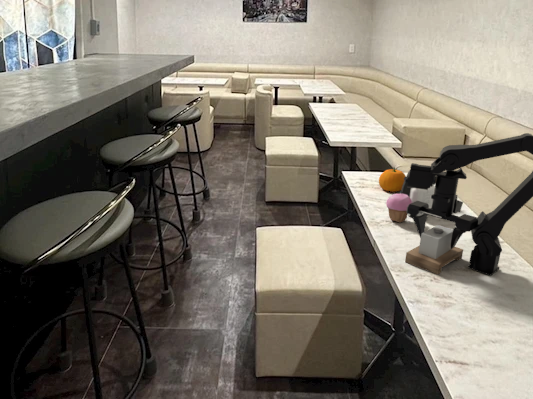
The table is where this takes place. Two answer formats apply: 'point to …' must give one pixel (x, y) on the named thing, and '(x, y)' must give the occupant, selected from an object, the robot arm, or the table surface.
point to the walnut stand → (432, 259)
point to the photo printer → (422, 195)
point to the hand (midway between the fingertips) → (436, 243)
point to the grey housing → (435, 241)
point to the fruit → (392, 180)
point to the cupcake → (398, 206)
